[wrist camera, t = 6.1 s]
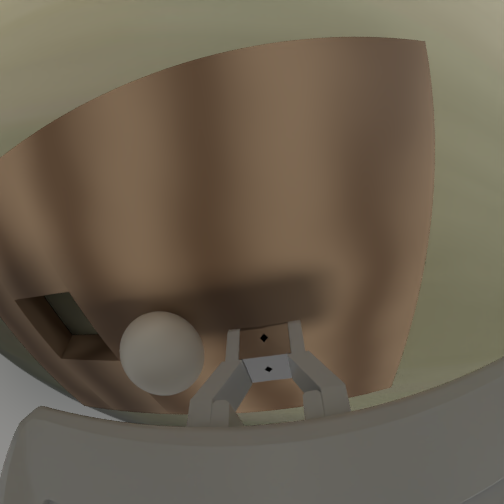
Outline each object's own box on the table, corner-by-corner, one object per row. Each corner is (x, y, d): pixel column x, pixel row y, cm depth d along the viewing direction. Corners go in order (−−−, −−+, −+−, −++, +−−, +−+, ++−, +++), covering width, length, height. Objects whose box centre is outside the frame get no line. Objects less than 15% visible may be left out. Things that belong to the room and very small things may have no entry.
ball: (123, 379, 9) (94, 324, 11) (166, 424, 11) (130, 374, 14) (207, 321, 11) (161, 282, 13) (230, 376, 13) (186, 336, 16)
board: (395, 45, 9) (424, 41, 7) (383, 362, 20) (391, 387, 18) (-38, 196, 12) (-59, 212, 10) (90, 386, 24) (84, 405, 22)
